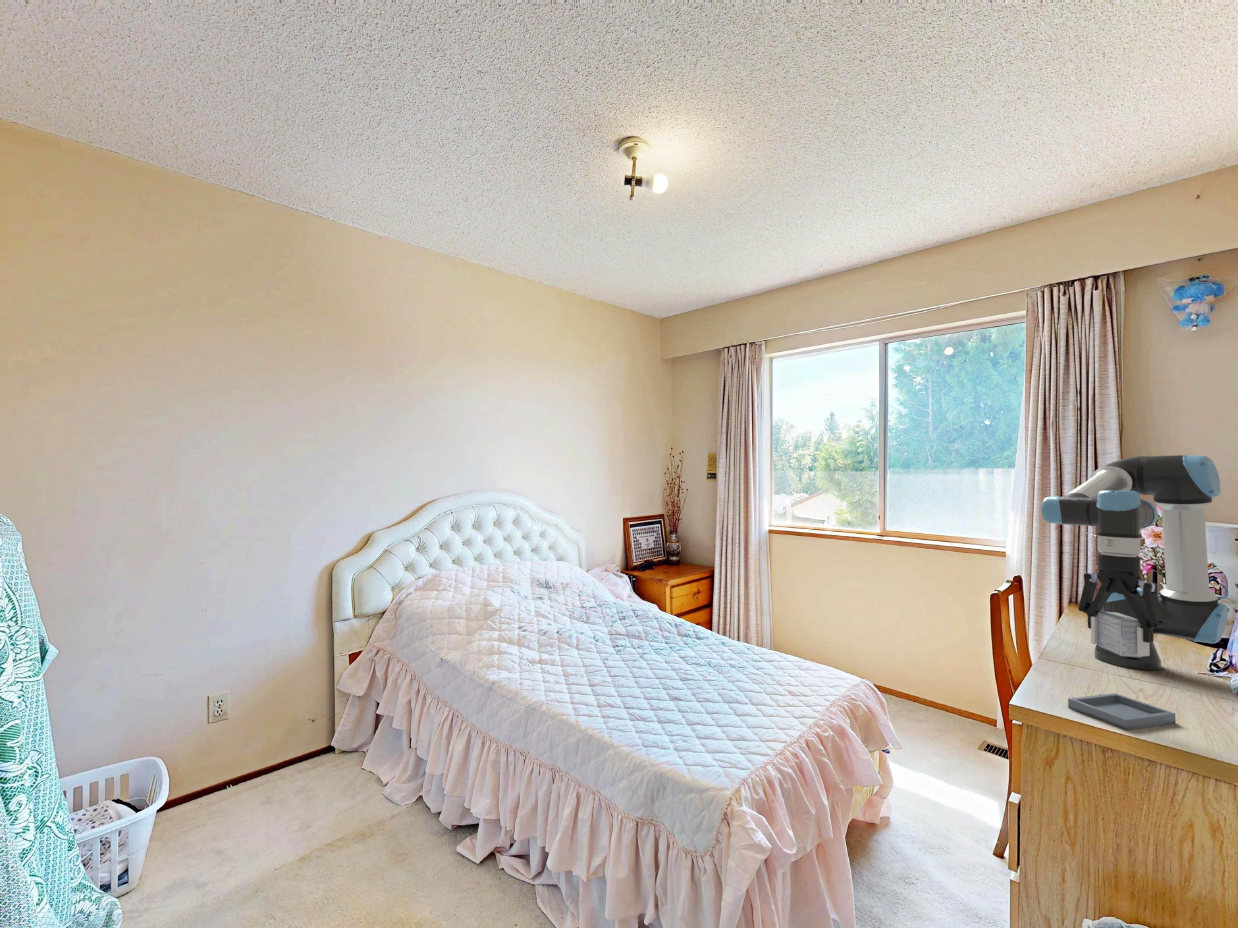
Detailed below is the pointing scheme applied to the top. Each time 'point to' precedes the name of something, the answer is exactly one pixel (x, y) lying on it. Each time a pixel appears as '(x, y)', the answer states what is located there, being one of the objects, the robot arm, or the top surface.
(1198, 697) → the top surface
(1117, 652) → the medicine box
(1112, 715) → the tray
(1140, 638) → the robot arm
